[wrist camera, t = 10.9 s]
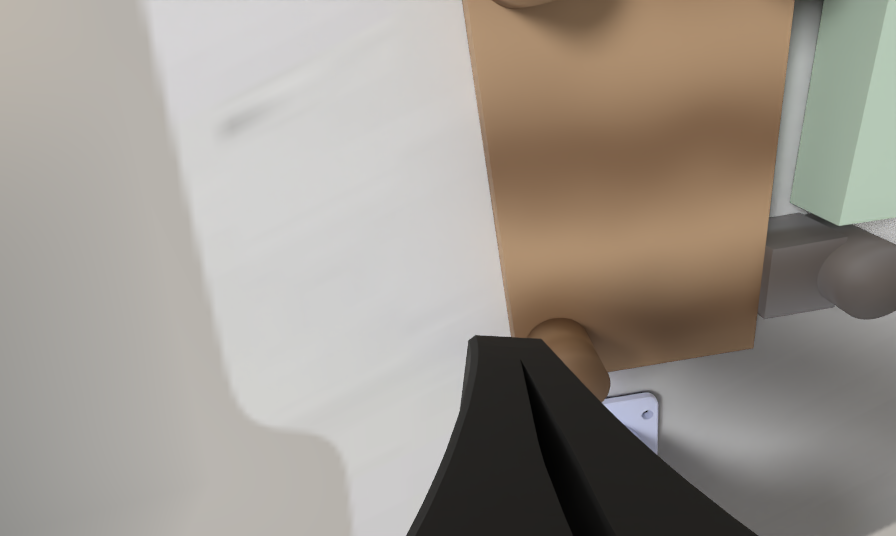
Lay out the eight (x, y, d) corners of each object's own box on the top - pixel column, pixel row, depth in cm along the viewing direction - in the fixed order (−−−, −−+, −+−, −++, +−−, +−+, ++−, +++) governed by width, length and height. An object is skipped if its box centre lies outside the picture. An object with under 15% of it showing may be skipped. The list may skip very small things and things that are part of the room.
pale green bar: (855, 192, 18) (913, 214, 16) (790, 202, 18) (838, 225, 16) (924, -106, 14) (1013, -131, 12) (839, -92, 14) (913, -114, 12)
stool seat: (828, 302, 20) (927, 370, 16) (513, 355, 21) (534, 433, 17) (923, -192, 13) (1136, -286, 9) (448, -92, 14) (457, -140, 10)
